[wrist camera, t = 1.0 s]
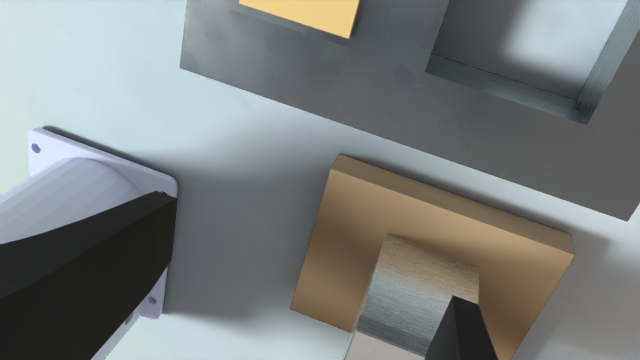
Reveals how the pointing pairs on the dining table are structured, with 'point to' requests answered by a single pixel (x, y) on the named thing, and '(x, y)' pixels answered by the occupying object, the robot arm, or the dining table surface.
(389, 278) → the steel peg
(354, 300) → the pad
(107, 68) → the dining table surface
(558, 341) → the dining table surface
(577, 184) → the rack plate
